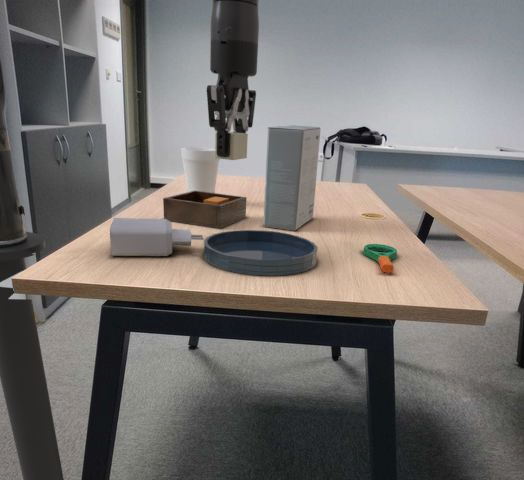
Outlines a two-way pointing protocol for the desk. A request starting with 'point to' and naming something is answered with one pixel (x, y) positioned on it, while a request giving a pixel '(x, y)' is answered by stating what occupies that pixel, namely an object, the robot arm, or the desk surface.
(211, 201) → the orange block
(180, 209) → the holder
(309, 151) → the hard drive box
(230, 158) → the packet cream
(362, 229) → the desk surface
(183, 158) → the foam cup
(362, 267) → the desk surface
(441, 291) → the desk surface
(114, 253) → the charger
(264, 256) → the dark blue round tray
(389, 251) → the magnifying glass
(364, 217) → the desk surface
